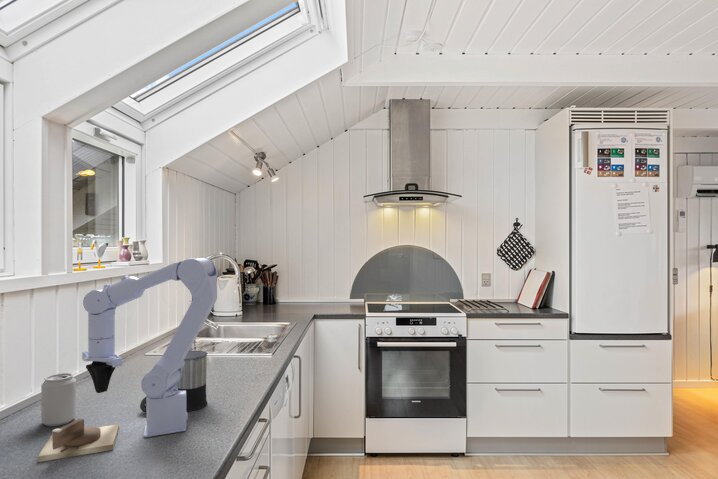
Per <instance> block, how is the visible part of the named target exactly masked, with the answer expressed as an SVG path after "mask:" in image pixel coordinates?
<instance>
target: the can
mask: <svg viewBox="0 0 718 479" xmlns="http://www.w3.org/2000/svg"><path fill="white" fill-rule="evenodd" d="M40 392H41V396H40V397H41V400H40V402H41V403H40V404H41V406H40V407H41V408H40V410H41V412H40V414H41V416H40V420H41V421H40V422H41V423H42V424H43V425H45V427H58V426H62V425H63V426H64V425H67V424H69V423H71V422H73V420H74V418H75V417H76V416H77V379H76V378H75V377H74V374H73V373H71V372H61V373H55V374H52V375H48V376H45V378H44V381H43V382H42V383H41V391H40Z"/></svg>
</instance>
